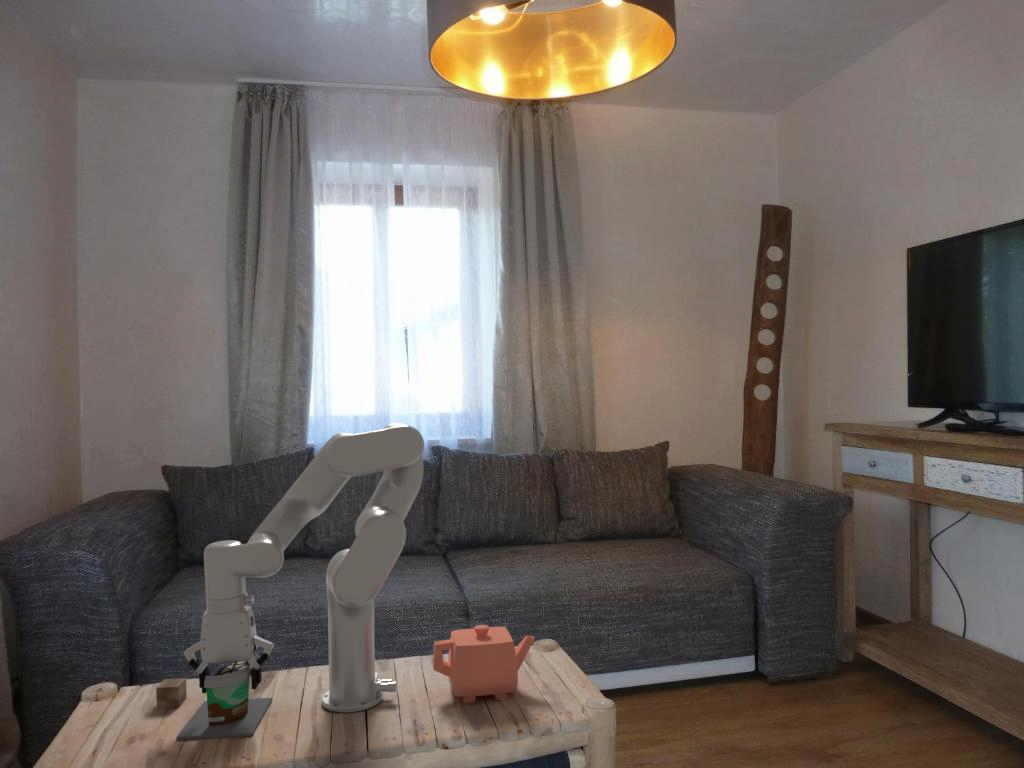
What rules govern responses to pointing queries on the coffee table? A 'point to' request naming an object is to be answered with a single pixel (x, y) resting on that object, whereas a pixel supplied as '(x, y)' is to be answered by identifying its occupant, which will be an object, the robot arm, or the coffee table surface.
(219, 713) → the food container
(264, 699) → the mat
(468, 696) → the teapot
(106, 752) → the coffee table surface
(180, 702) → the walnut block
